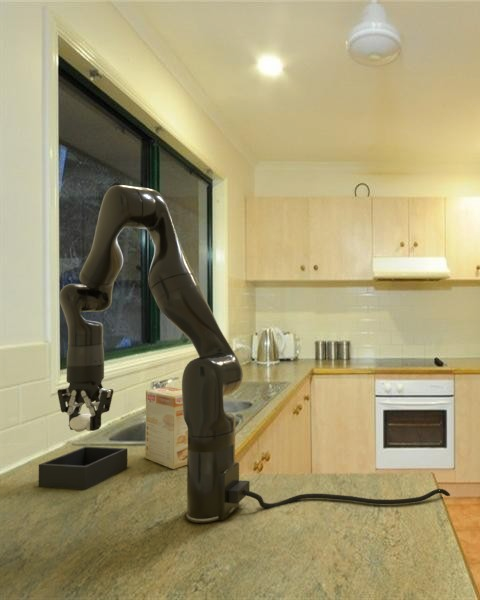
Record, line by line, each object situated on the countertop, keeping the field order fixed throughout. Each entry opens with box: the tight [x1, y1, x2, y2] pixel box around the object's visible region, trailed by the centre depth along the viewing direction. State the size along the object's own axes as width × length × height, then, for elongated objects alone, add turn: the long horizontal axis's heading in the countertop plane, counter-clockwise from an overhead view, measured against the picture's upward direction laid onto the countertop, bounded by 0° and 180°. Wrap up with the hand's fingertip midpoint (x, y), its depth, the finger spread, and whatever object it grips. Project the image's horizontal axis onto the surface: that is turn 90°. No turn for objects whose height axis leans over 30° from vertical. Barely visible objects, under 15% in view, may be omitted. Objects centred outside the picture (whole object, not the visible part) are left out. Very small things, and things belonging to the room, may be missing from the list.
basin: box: [38, 446, 128, 491], centre depth 102 cm, size 13×13×5 cm
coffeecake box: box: [144, 386, 188, 470], centre depth 114 cm, size 15×7×20 cm, turn 58°
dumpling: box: [67, 413, 91, 433], centre depth 102 cm, size 7×5×4 cm
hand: (85, 429), depth 102 cm, fingers closed on dumpling, 5 cm apart
